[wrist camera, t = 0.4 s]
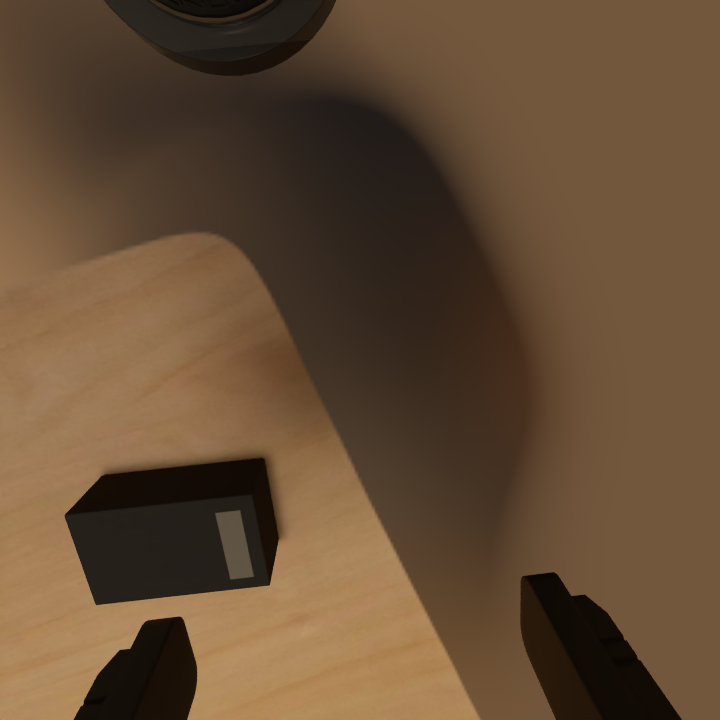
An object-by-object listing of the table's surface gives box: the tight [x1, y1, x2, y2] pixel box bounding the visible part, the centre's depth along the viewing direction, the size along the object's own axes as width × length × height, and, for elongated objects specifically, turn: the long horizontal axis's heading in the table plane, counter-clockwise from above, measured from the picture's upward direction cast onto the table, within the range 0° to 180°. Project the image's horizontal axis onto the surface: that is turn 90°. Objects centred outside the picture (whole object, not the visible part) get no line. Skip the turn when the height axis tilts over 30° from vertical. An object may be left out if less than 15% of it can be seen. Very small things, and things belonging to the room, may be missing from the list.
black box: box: [65, 458, 279, 605], centre depth 23 cm, size 6×9×4 cm, turn 95°
